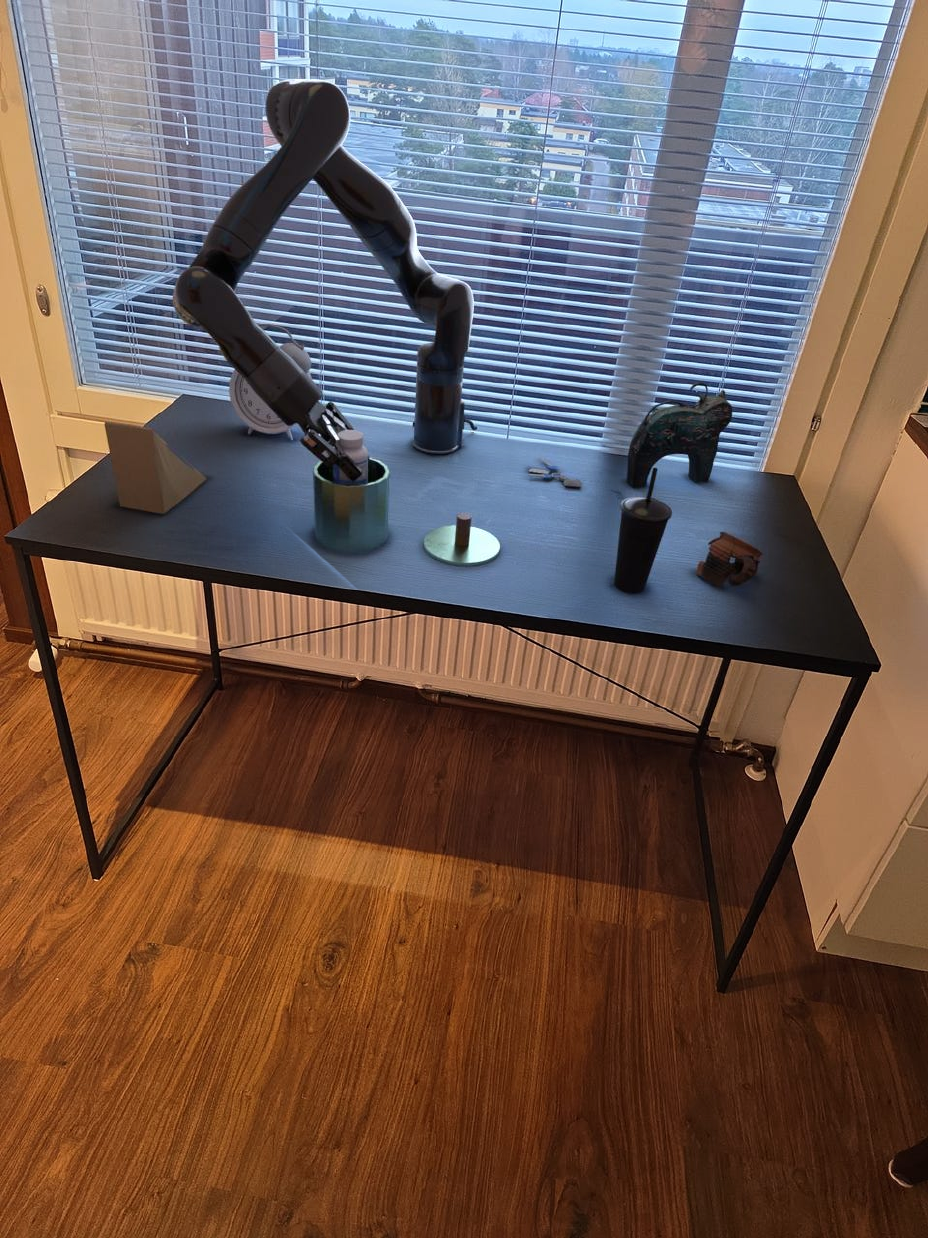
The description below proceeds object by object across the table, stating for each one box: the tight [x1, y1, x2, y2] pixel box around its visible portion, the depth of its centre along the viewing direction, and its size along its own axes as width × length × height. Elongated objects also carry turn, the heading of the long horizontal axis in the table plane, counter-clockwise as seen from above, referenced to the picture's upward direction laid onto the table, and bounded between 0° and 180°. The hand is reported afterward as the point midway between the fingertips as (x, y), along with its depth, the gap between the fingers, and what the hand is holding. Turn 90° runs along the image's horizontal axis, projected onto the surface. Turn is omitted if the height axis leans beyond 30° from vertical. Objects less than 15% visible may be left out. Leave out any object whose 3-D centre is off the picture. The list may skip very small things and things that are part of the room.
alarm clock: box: [228, 323, 314, 441], centre depth 164 cm, size 16×9×22 cm, turn 81°
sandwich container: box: [103, 421, 208, 515], centre depth 140 cm, size 9×15×15 cm, turn 167°
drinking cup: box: [613, 467, 673, 594], centre depth 125 cm, size 8×8×20 cm
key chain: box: [528, 457, 582, 488], centre depth 162 cm, size 14×8×1 cm, turn 34°
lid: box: [423, 512, 501, 567], centre depth 134 cm, size 13×13×6 cm
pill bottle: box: [333, 429, 369, 485], centre depth 129 cm, size 6×5×10 cm
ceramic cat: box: [626, 381, 734, 488], centre depth 159 cm, size 20×6×20 cm, turn 108°
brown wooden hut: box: [695, 531, 764, 589], centre depth 133 cm, size 12×10×8 cm
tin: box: [312, 457, 391, 553], centre depth 133 cm, size 12×12×12 cm
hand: (361, 468), depth 129 cm, fingers closed on pill bottle, 5 cm apart
